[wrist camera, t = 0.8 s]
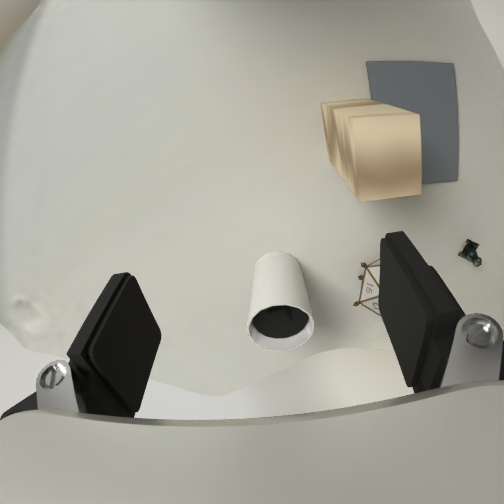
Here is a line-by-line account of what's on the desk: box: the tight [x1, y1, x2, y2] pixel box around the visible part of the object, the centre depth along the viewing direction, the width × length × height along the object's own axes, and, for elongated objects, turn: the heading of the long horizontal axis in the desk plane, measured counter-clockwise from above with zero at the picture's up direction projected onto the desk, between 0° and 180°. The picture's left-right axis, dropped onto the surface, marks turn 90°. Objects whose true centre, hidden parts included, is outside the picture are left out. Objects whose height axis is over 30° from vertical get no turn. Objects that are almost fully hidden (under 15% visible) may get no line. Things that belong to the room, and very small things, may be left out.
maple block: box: [321, 99, 422, 202], centre depth 25 cm, size 6×5×12 cm
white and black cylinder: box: [247, 251, 314, 351], centre depth 35 cm, size 7×7×10 cm
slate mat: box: [366, 61, 459, 184], centre depth 29 cm, size 14×11×1 cm
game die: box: [353, 259, 381, 316], centre depth 36 cm, size 9×8×10 cm
